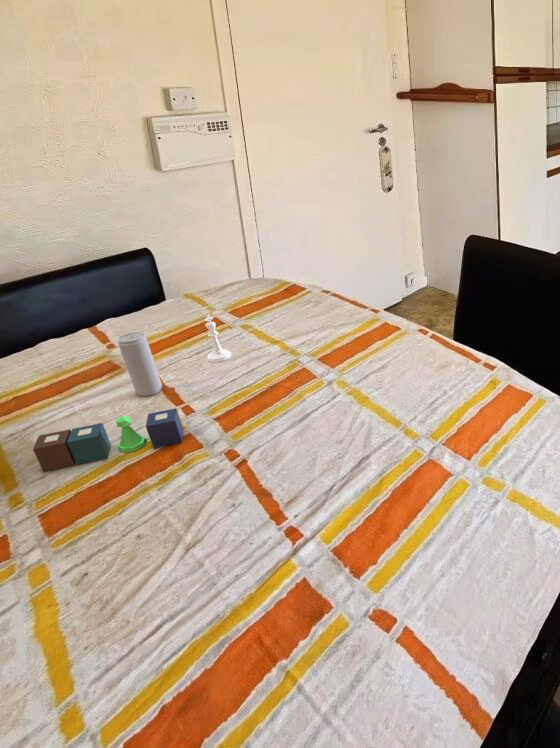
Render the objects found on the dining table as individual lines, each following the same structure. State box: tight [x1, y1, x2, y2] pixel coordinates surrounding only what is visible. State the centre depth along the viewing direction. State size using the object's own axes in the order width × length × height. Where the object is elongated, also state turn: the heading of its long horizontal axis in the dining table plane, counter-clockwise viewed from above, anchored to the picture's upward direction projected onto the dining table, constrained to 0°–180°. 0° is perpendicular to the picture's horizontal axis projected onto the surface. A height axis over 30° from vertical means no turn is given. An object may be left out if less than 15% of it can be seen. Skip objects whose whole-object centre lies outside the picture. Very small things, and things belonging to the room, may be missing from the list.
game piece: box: [115, 415, 147, 454], centre depth 106 cm, size 4×4×6 cm
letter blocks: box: [32, 408, 184, 472], centre depth 106 cm, size 21×4×5 cm, turn 112°
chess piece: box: [204, 314, 232, 363], centre depth 136 cm, size 5×5×10 cm
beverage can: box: [117, 331, 163, 397], centre depth 122 cm, size 5×5×12 cm
